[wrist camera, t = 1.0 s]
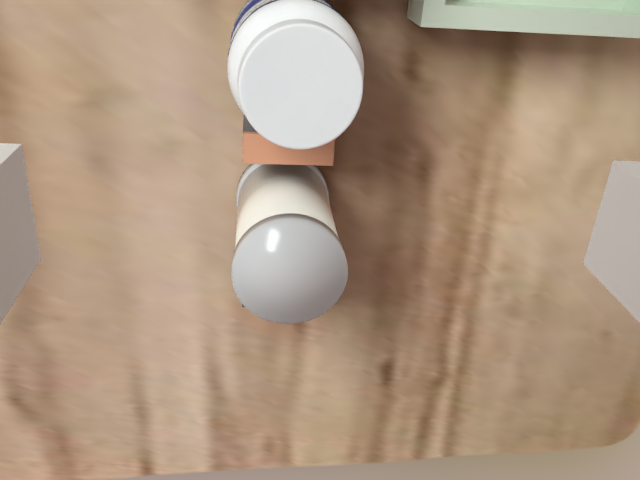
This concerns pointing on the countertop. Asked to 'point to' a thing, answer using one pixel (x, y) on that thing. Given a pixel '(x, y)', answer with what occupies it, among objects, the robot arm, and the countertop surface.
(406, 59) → the countertop surface
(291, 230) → the white rounded cylinder
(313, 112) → the pill bottle
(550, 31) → the tray
